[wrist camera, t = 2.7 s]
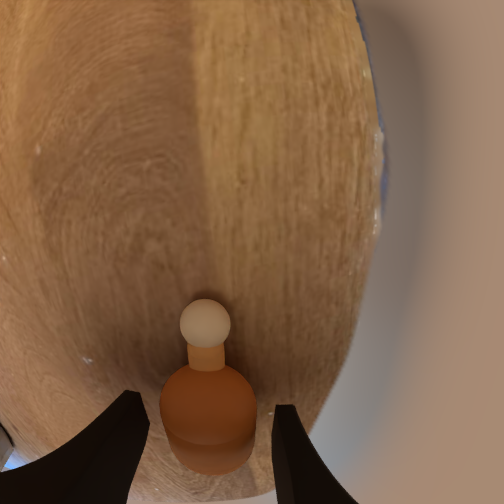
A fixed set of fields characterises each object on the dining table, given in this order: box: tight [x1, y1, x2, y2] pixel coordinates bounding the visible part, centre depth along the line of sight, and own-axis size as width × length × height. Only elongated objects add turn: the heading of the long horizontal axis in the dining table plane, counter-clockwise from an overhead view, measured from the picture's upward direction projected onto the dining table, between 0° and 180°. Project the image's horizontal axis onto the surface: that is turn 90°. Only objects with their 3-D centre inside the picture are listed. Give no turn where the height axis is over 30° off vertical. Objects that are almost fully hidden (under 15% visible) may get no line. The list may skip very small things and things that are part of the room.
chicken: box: [159, 299, 257, 476], centre depth 9 cm, size 8×3×3 cm, turn 178°
